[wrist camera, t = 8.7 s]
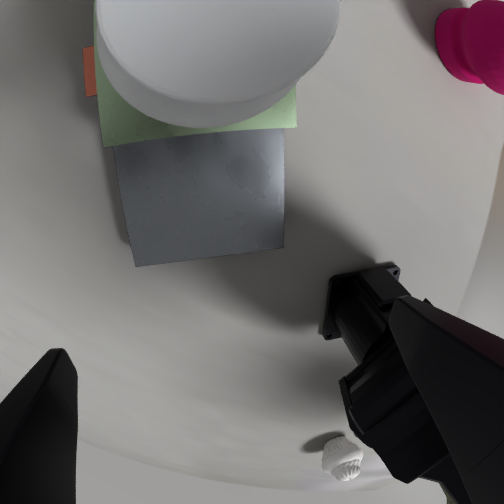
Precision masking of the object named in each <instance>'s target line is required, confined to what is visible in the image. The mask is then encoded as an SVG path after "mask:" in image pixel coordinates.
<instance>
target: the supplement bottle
mask: <svg viewBox="0 0 504 504" xmlns="http://www.w3.org/2000/svg"><path fill="white" fill-rule="evenodd" d="M340 10H341V0H96V3H95V12H96V21H97V31H96V42H97V50H98V55H99V59H100V62H101V65H102V68H103V70H104V72H105V74H106V76H107V78H108V80H109V81H110V83H111V84H112V86H113V87H114V89H115V90H116V91H117V92H118V93H119V94H120V96H121V97H122V98H123V99H124V100H125V101H127V102H128V103H129V104H130V105H132V106H133V107H134V108H136V109H137V110H139V111H140V112H142V113H144V114H145V115H147V116H149V117H152V118H154V119H156V120H159V121H162V122H165V123H168V124H172V125H176V126H183V127H191V128H210V127H220V126H226V125H230V124H234V123H238V122H241V121H244V120H247V119H249V118H252V117H254V116H256V115H258V114H260V113H262V112H263V111H265V110H267V109H269V108H270V107H272V106H273V105H274V104H276V103H277V102H278V101H280V100H281V99H282V98H283V97H284V96H285V95H286V94H287V93H289V91H290V90H291V89H292V88H293V87H294V86H295V84H296V83H297V82H298V81H299V79H300V78H301V77H302V76H303V75H305V74H306V73H307V72H308V71H309V70H310V69H311V68H312V67H313V66H314V65H315V64H316V63H317V62H318V61H319V59H320V58H321V57H322V56H323V55H324V53H325V51H326V50H327V48H328V47H329V45H330V43H331V41H332V39H333V38H334V35H335V32H336V29H337V26H338V22H339V17H340Z"/></svg>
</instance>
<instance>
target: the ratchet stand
mask: <svg viewBox="0 0 504 504" xmlns="http://www.w3.org/2000/svg"><path fill="white" fill-rule="evenodd" d="M95 3H96V0H94V4H93V27H94V46H90V47H86V48H83V63H84V79H85V91H86V97H89V96H95V95H97V99H98V109H99V118H100V127H101V135H102V142H103V148H105V147H110V146H113V151H114V158H115V165H116V171H117V177H118V183H119V189H120V195H121V200H122V206H123V211H124V216H125V221H126V226H127V231H128V235H129V240H130V245H131V249H132V253H133V258H134V262H135V266H136V267H140V266H148V265H155V264H163V263H171V262H178V261H186V260H194V259H201V258H209V257H217V256H224V255H232V254H239V253H247V252H255V251H262V250H270V249H278V248H284V128H296V84H295V86H294V87H293V88H292V89H291V90H290V91H289V93H287V94H286V95H285V96H284V97H283V98H282V99H281V100H280V101H278V102H277V103H276V104H274V105H273V106H272V107H270V108H269V109H267V110H265V111H263V112H262V113H260V114H258V115H256V116H254V117H252V118H249V119H247V120H244V121H241V122H238V123H234V124H230V125H226V126H220V127H210V128H191V127H183V126H176V125H172V124H168V123H165V122H162V121H159V120H156V119H154V118H152V117H149V116H147V115H145V114H144V113H142V112H140V111H139V110H137V109H136V108H134V107H133V106H132V105H130V104H129V103H128V102H127V101H125V100H124V99H123V98H122V97H121V96H120V94H119V93H118V92H117V91H116V90H115V89H114V87H113V86H112V84H111V83H110V81H109V80H108V78H107V76H106V74H105V72H104V70H103V68H102V65H101V62H100V59H99V55H98V50H97V42H96V31H97V21H96V12H95Z"/></svg>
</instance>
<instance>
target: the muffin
mask: <svg viewBox="0 0 504 504" xmlns="http://www.w3.org/2000/svg"><path fill="white" fill-rule="evenodd" d="M362 458H363V451H362V449H360V448H359V447H358V446H357V445H356V444H355V443H353V442H352V441H350V440H349V439H347V438H345V437H344V436H340V437H336V438H333V439H331V440H329V441H328V442H327V443H326V444H325V445H324V451H323V456H322V469H323V470H324V471H325V472H327V473H329V474H332V475H333V476H335V477H336V479H337V480H339V481H348V480H352V479H353V478H355V477H356V476H357V475H358V474H359V473H360V467H359V466H360V463H361V462H360V461H361V460H362Z"/></svg>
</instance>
